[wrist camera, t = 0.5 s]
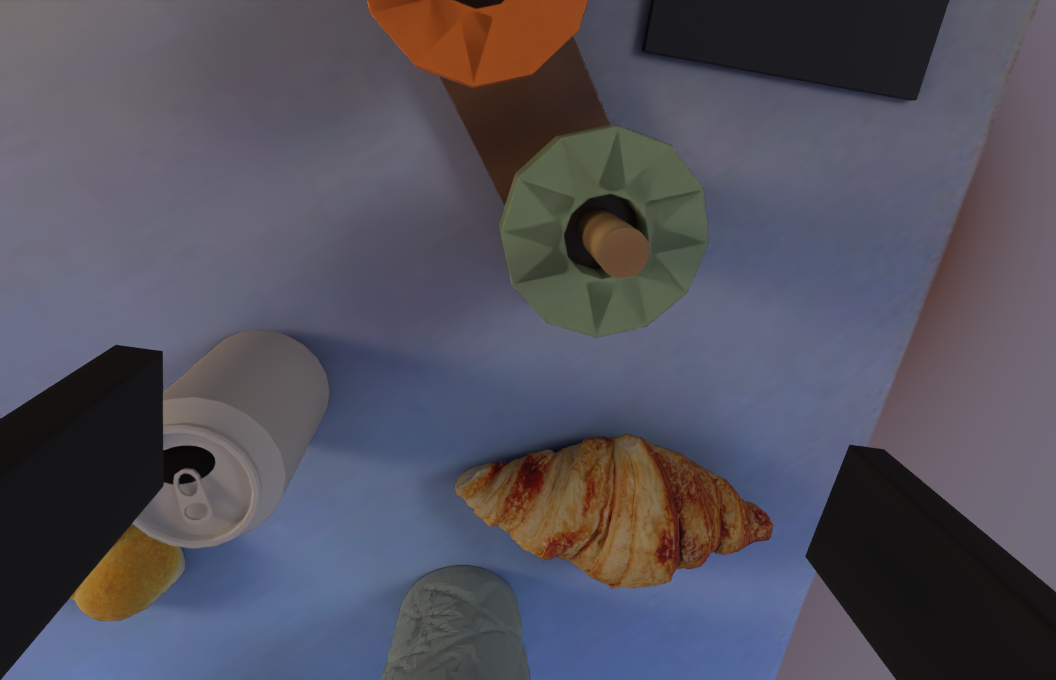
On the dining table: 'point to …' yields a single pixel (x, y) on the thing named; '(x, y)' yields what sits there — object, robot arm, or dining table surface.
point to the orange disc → (479, 36)
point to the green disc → (562, 187)
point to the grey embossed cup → (458, 629)
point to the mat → (805, 39)
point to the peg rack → (528, 126)
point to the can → (234, 438)
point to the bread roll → (129, 577)
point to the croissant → (615, 509)
